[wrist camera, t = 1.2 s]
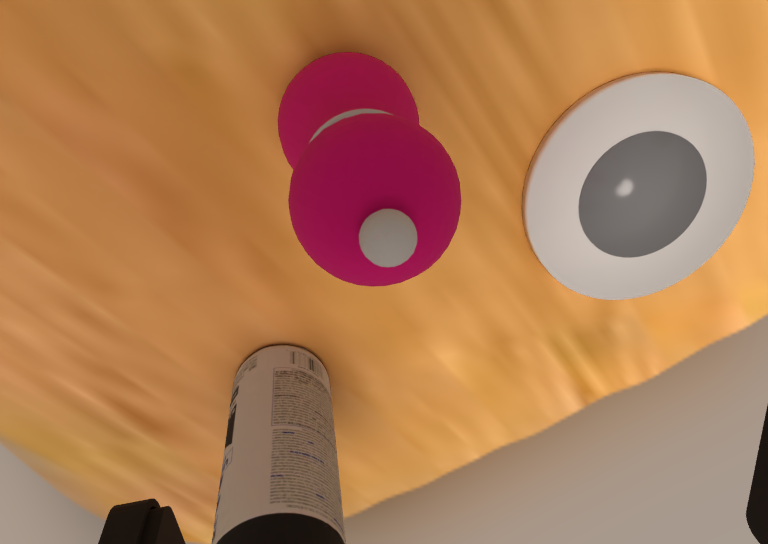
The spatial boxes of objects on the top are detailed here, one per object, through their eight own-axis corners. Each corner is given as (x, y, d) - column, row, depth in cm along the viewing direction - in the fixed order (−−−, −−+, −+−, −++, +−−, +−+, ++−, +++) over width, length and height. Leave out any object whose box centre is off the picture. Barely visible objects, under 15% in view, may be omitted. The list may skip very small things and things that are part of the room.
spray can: (220, 355, 42) (166, 641, 24) (317, 329, 42) (334, 596, 24) (251, 428, 45) (223, 731, 27) (341, 404, 45) (373, 689, 27)
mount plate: (519, 91, 37) (527, 95, 35) (758, 54, 37) (774, 57, 36) (523, 307, 43) (530, 318, 42) (726, 272, 44) (738, 281, 43)
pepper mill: (399, 171, 38) (494, 352, 20) (280, 168, 37) (267, 357, 19) (409, 46, 35) (532, 129, 17) (279, 39, 34) (263, 120, 16)
